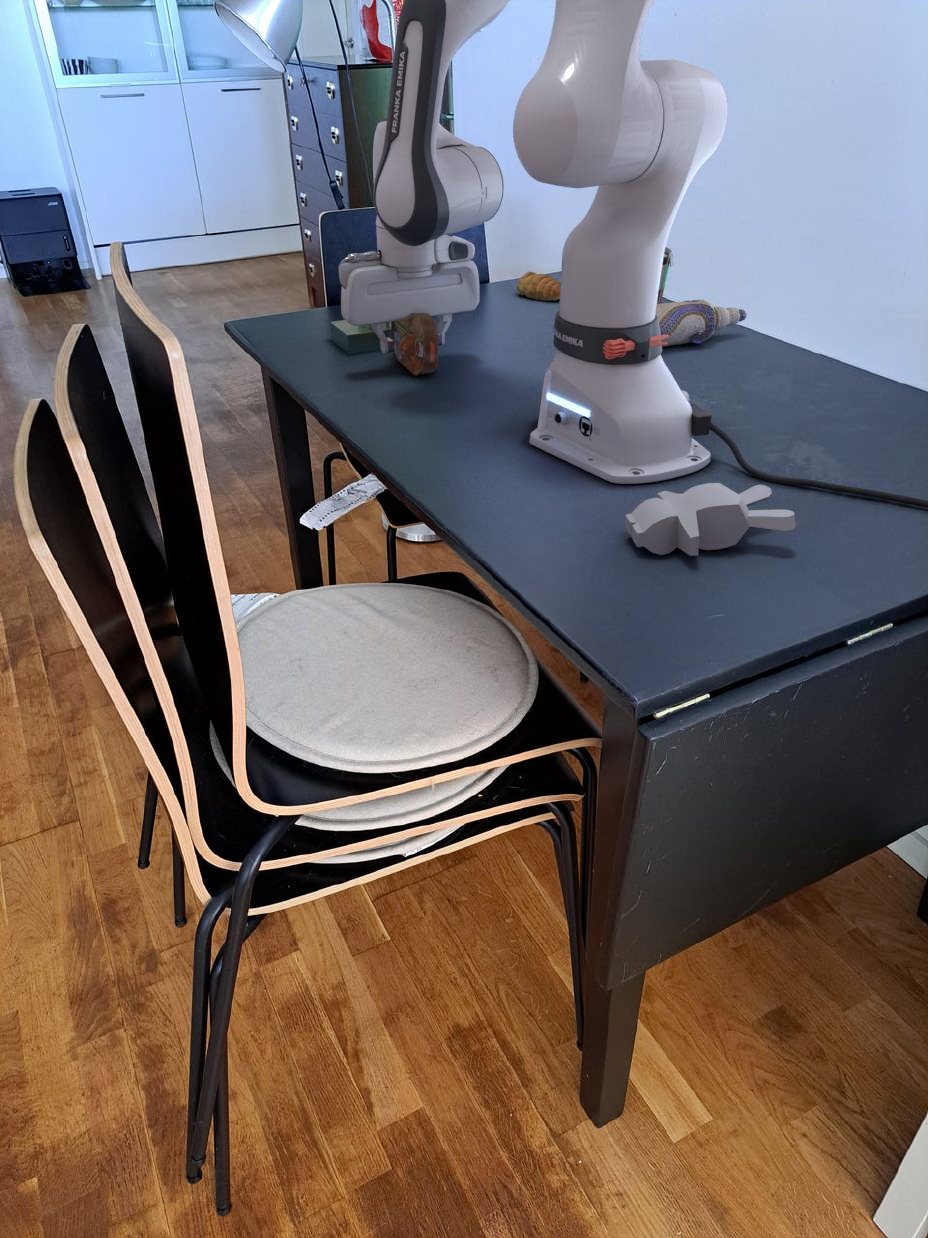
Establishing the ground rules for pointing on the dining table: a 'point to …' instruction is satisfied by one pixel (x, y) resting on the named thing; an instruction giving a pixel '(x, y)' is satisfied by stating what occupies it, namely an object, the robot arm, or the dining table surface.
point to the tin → (416, 343)
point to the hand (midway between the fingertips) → (413, 348)
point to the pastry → (539, 286)
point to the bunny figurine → (702, 518)
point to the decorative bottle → (694, 320)
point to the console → (357, 337)
